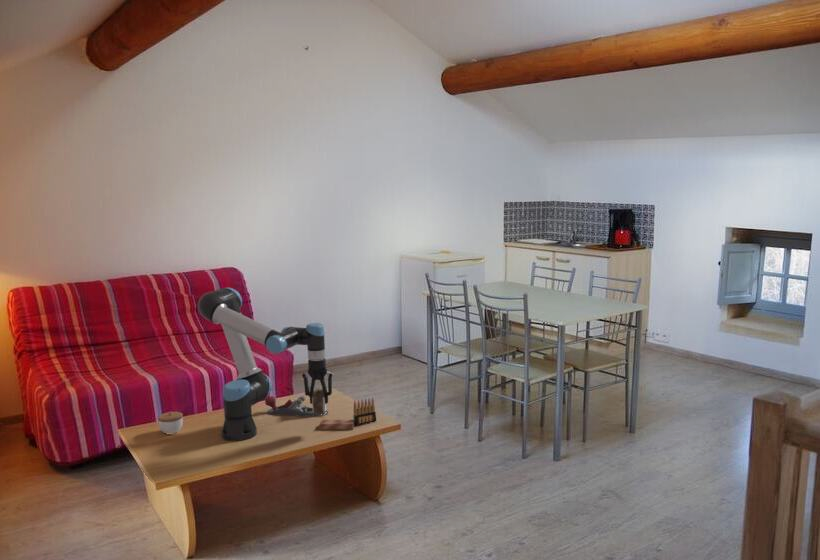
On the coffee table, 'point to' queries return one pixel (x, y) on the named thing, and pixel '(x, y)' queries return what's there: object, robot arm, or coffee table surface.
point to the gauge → (318, 401)
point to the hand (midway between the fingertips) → (319, 410)
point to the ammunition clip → (364, 412)
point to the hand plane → (291, 407)
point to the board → (336, 424)
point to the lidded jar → (170, 422)
